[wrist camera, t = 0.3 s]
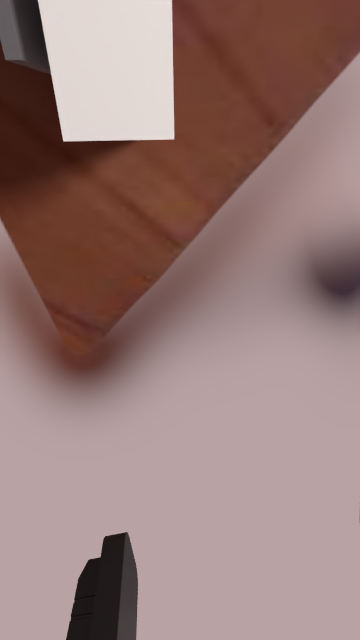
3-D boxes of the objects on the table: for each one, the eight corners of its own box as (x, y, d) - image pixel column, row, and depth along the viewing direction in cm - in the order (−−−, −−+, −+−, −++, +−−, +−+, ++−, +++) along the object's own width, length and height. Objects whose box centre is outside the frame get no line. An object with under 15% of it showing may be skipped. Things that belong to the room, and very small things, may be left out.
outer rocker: (33, -11, 19) (-28, -60, 14) (50, -11, 19) (-5, -61, 13) (49, 75, 21) (1, 60, 16) (64, 74, 21) (21, 59, 16)
